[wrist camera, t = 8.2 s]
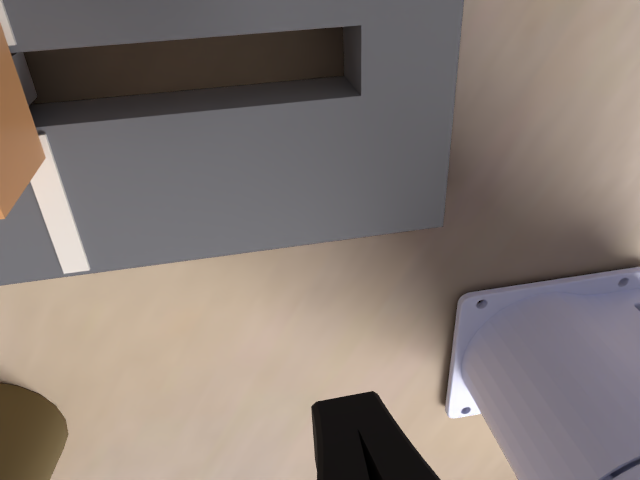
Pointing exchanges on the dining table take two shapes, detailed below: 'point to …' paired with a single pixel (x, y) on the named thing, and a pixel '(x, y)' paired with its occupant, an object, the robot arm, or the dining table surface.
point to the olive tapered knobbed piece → (29, 434)
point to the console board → (234, 138)
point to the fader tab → (16, 128)
